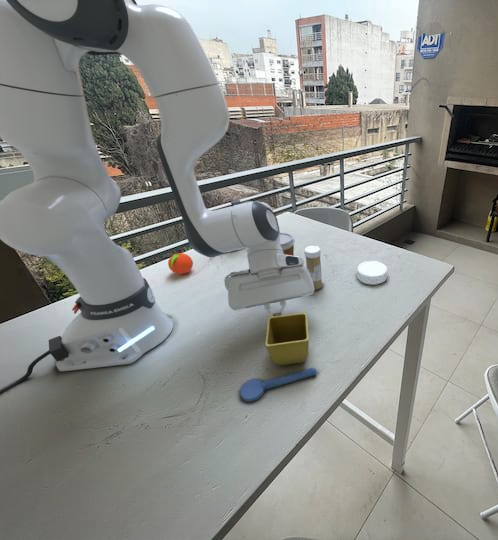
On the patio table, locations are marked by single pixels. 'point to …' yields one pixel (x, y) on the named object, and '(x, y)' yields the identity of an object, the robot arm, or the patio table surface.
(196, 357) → the patio table surface
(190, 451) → the patio table surface
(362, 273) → the white round disc
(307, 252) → the sprinkles bottle
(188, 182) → the robot arm
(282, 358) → the flower pot
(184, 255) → the clementine
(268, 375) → the patio table surface
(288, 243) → the disposable coffee cup
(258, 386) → the spoon
